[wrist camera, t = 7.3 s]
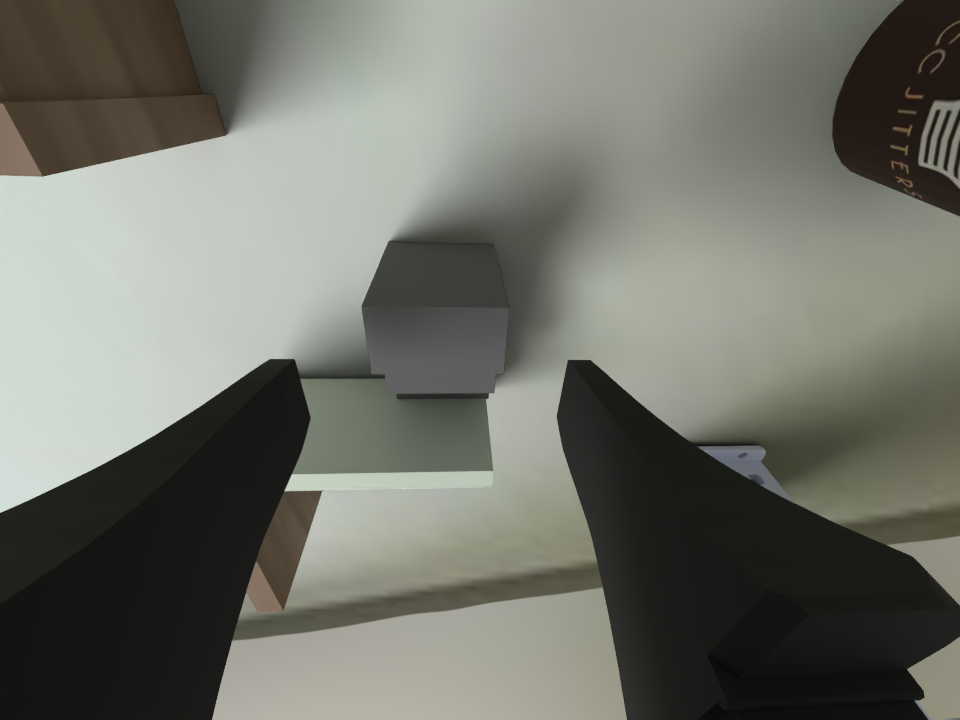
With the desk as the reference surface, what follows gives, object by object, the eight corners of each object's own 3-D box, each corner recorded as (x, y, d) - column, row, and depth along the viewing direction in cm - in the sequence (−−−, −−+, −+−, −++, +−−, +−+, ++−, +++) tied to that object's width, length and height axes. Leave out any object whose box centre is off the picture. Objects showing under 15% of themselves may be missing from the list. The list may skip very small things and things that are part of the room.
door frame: (160, -95, 11) (-238, -336, 5) (328, 491, 25) (287, 624, 19) (82, -100, 11) (-435, -356, 4) (296, 492, 25) (244, 625, 19)
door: (268, 394, 20) (209, 492, 15) (263, 378, 20) (200, 476, 15) (482, 393, 21) (491, 487, 16) (483, 378, 21) (492, 471, 16)
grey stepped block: (388, 240, 17) (361, 306, 12) (493, 242, 17) (509, 307, 12) (401, 374, 21) (384, 465, 16) (485, 373, 21) (495, 463, 16)
